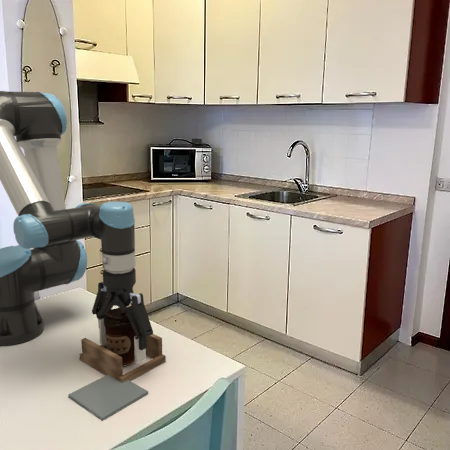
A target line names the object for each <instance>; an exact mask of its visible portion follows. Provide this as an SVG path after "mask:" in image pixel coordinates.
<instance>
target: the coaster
mask: <svg viewBox="0 0 450 450" xmlns="http://www.w3.org/2000/svg"><path fill="white" fill-rule="evenodd" d="M148 394H149V391H148V390H147V389H145V388H143V387H141V386H140V385H139V384H136V383H135V382H132V380H131V381H129V380H127V381H125V382H123V383H121V382H120V381H118V380H116V379H115V378H113V377H111V376H109V375H104V376H102V377H100V378H98V379H96V380H94V381H92V382H90V383H88V384H86V385H85V386H84V385H83V387H80V388H78V389H77V390H75V391H72V392H70V393H68V395H67V396H68V398H69V399H71V400H72V401H73V402H75V403H76V404H78V405H79V406H80V407H82V408H83V409H85V410H86V411H87V412H90V413H91V414H92V415H94V416H95V417H97V418H98V419H99V420H101V421H103V422H104V420H106V419H107V418H110V417H112V416H113V415H114V414H116V413H118V412H120V411H122V410H123V409H125V408H126V407H128V406H130V405H131V404H133V403H135V402H136V401H138V400H140V399H142V398H143V397H145V396H147V395H148Z"/></svg>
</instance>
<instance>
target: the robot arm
mask: <svg viewBox="0 0 450 450" xmlns="http://www.w3.org/2000/svg"><path fill="white" fill-rule="evenodd" d="M67 125H68V118H67V114H66V110H65V107H64V105H63V103H62V102H61V99H59V98H58V97H57V96H56V95H55V94H52V93H49V92H48V93H47V92H40V91H35V92H34V91H6V90H0V182H1V185H2V187H3V188H4V190H5V192H6V194H7V197H8V198H9V201H10V202H11V204H12V206H13V208H14V211H15V212H16V214H17V216H16V217H15V218H14V221H13V224H12V225H13V234H14V237H15V240H16V243H17V245H9V246H4V247H1V248H0V346H12V345H13V346H14V345H18V344H22V343H25V342H28V341H31V340H33V339H36V338H37V337H39V336H40V335H41V334H42V333H43V332H44V330H45V327H44V325H45V323H44V318H43V316H42V314H41V313H40V310H39V308H38V306H37V304H36V299H35V293H36V292H41V291H43V290H49V289H51V288H55V287H59V286H62V285H70V284H71V283H73V282H76V281H79V280H80V279H81V278H83V277H84V274H86V270H87V267H88V255H87V251H86V248H85V245H84V244H83V243H82V242H81V241H79V240H82V239H89V238H96V239H98V240H100V243H101V260H102V268H103V270H102V281H101V282H98V285H97V292H96V296H95V299H94V303H93V306H92V309H91V313H92V315H96V318H97V322H98V330H99V332H98V333H99V345H101V344H105V343H106V336H105V332H106V330H105V326H104V317H105V316H106V313H107V311H108V310H111V309H113V307H114V306H116V307H117V308H121V309H122V311H123V312H124V313H126V315H127V317H128V319H129V321H130V323H131V325H132V327H133V329H134V331H135V333H136V335H137V336H135V337H134V347H135V351H134V353H135V354H134V355H135V362H134V363H136V364H138V363H141V362H143V361H145V360H147V356H146V348H147V337H148V336H150V335H152V334H154V331H153V328H152V324H151V320H150V318H149V315H148V312H147V309H146V306H145V303H144V302H145V301H144V295H143V293H138V294H137V293H135V292H134V289H133V288H134V286H135V284H136V282H137V274H136V268H135V267H136V266H137V265H136V248H135V245H136V241H135V240H136V239H135V236H136V235H135V234H136V233H135V229H136V228H135V223H136V219H135V217H134V216H135V215H134V214H135V213H134V206H133V205H132V204H131V203H130V202H127V201H108V202H104V203H102V204H101V205H98V204H95V203H92V202H90V203H89V202H82V203H80V204H78V205H77V206H75V207H72V208H67V209H66V207H67V206H66V201H65V195H64V188H63V182H62V181H63V180H62V175H61V174H62V173H61V168H60V162H59V161H60V160H59V154H58V145H59V144H60V142H62V137H61V136H62V135H64V134H65V133H66V131H67ZM140 331H141V332H140Z"/></svg>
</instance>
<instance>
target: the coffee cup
mask: <svg viewBox="0 0 450 450" xmlns="http://www.w3.org/2000/svg"><path fill="white" fill-rule="evenodd" d="M104 326H105V330H106V332H105V336H106V343H107V349H108V350H109V351H111V352H113V353H115V354H117V355H119V356H121V357H122V367H126V366H131V365H134V363H136V362H135V347H134V337H135V336H137V335H136V333H135V331H134V329H133V327H132V325H131V323H130V321H129V319H128V317H127V315H126V313H124V312H123V311H122V309H121V308H119V307H117V308H112V309H111V310H108V311H107V313H106V316H105V317H104Z"/></svg>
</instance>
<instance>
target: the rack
mask: <svg viewBox="0 0 450 450" xmlns="http://www.w3.org/2000/svg"><path fill="white" fill-rule="evenodd" d="M140 332H141V331H140ZM80 342H81V352H80V354H78V355H79V361H81V363H84V364H86V365H87V366H89V367H91V368H92V369H93V370H96V371H97V372H99V373H101V374H103V375H104V376H106V375H109V376H111V377H113V378H115V379H116V380H118V381H120V382H121V383H123V382H125V381H127V380H129V381H131V382H132V381H133V380H135V379H137V378H138V377H140V376H142V375H144V374H145V373H148V372H150V371H151V370H154V369H155V368H156V367H158V366H161V365H163V364H165V363H166V361H167V359H166V357H167V356H166V355H165V354H163V337H161V336H159V335H157V334H154V333H153V334H152V335H150V336H148V337H147V348H146V357H148V358H150V360H149V361H146V362H144V363H142V364H141V365H139V366H137V367H135V368H133V369H132V370H129V371H127V372H125V373H124V371H123V367H124V366H122V357H121V356H119V355H117V354H115V353H113V352H111V351H109V350H108V349H107V343H105V344H98V343H96V342H95V341H92V340H90V339H88V338H86V337H84V338H82V339H80Z"/></svg>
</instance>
